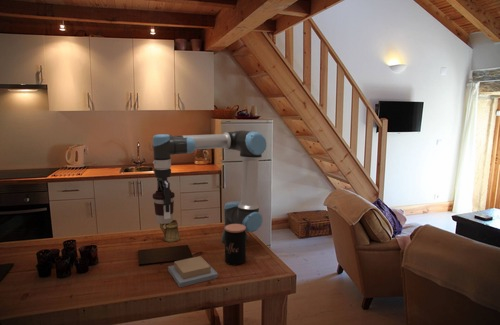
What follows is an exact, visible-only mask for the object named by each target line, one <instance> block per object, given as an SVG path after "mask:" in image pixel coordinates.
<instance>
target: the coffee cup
mask: <svg viewBox="0 0 500 325" xmlns="http://www.w3.org/2000/svg"><path fill="white" fill-rule="evenodd" d="M175 194H176V193H175V192H174V191H172V190H171V189H170V196H171V205H170V218H169V219H164V206H163V204H164V196H163V192H162V191H161V190H155V193H153V194H152V199H153V205H154V213H155V218H156V223H157V224H159V225H160V224H167V223H170V222H172V221H173V220H174V219H173V218H174V216H173V215H174V207H175V206H174V205H175V203H174V202H175V200H174V198H175V197H176V196H175Z"/></svg>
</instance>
